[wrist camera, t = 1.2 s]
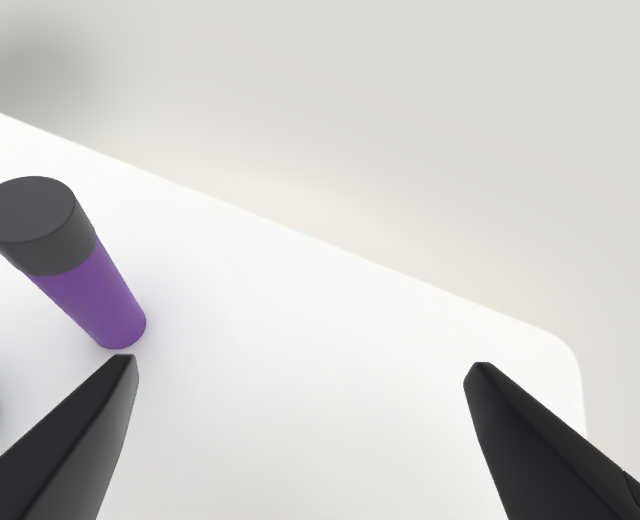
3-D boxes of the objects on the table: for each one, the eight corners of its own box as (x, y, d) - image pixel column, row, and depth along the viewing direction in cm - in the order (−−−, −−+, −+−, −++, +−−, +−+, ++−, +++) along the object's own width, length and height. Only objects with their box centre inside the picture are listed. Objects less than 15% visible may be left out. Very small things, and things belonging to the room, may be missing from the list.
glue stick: (126, 358, 23) (29, 256, 12) (81, 338, 23) (-54, 221, 13) (156, 314, 25) (94, 194, 14) (114, 296, 25) (21, 164, 14)
